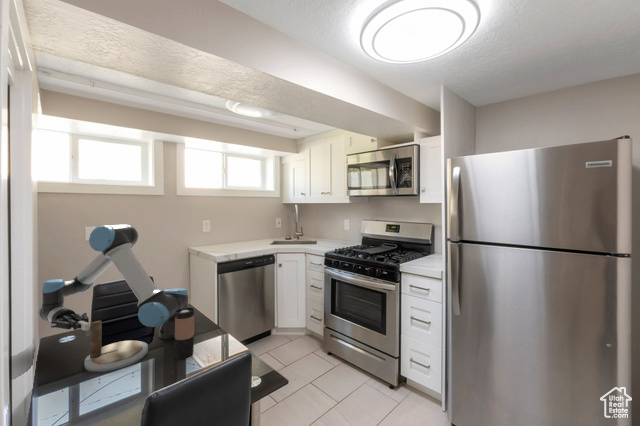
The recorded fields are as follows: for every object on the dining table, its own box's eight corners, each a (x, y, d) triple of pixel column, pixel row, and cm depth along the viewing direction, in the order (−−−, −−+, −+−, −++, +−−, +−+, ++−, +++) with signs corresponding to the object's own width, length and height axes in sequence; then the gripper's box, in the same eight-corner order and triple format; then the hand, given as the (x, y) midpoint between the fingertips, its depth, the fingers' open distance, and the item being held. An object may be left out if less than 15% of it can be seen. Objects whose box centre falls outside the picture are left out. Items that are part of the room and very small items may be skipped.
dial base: (156, 343, 131) (156, 339, 131) (132, 369, 109) (132, 364, 109) (105, 347, 127) (105, 342, 127) (70, 374, 106) (70, 368, 106)
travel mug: (186, 361, 115) (186, 314, 116) (170, 359, 117) (170, 312, 117) (197, 352, 123) (197, 308, 123) (182, 350, 124) (183, 306, 125)
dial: (137, 338, 131) (137, 307, 131) (147, 352, 118) (147, 317, 118) (87, 352, 118) (88, 317, 118) (92, 369, 105) (92, 330, 105)
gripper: (79, 320, 133) (104, 330, 122) (42, 329, 121) (67, 342, 111) (79, 304, 133) (105, 313, 122) (43, 313, 121) (67, 323, 111)
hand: (87, 327), depth 116 cm, fingers closed
